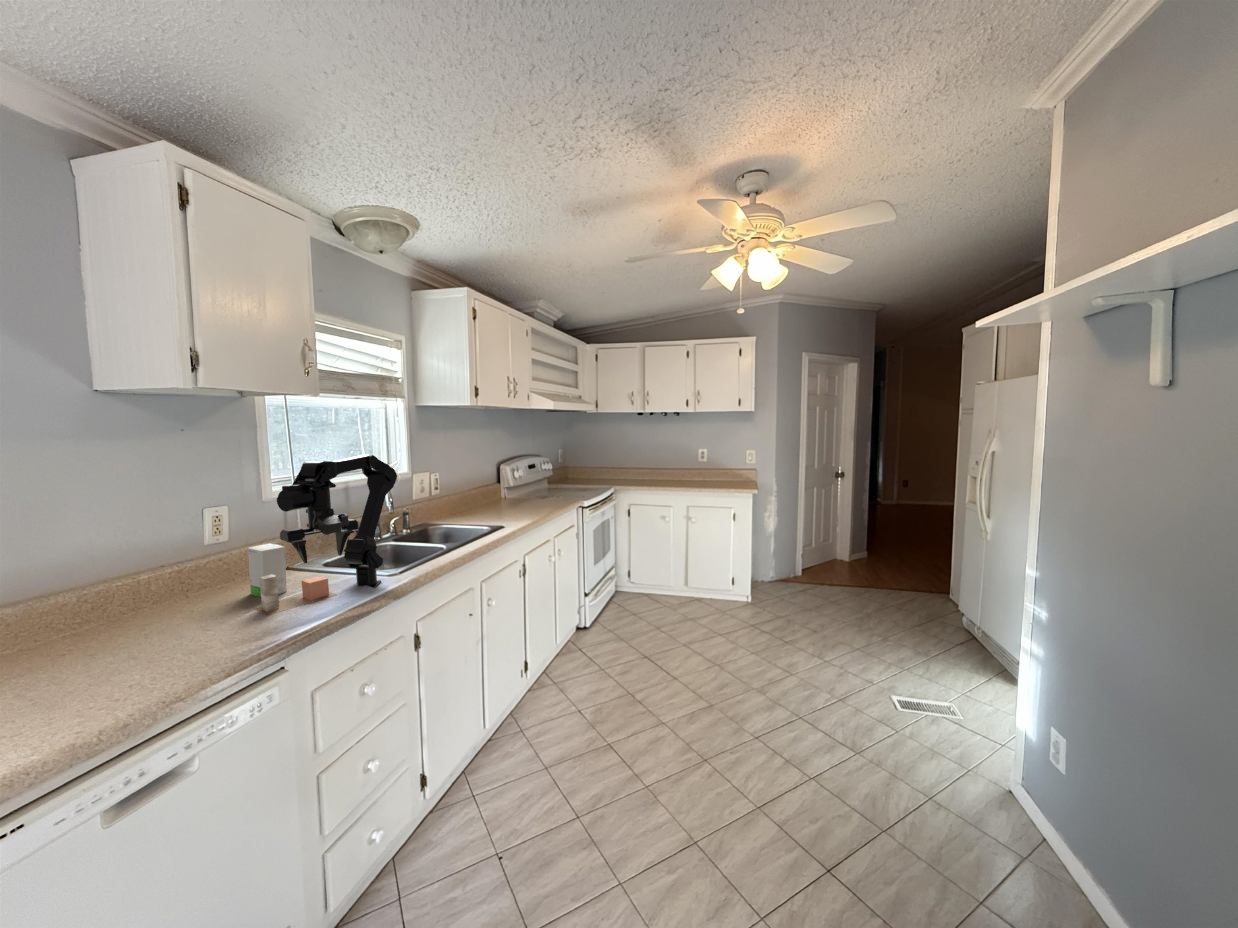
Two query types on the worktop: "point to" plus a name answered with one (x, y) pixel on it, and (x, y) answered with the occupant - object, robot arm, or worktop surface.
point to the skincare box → (267, 566)
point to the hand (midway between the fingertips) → (323, 559)
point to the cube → (315, 587)
